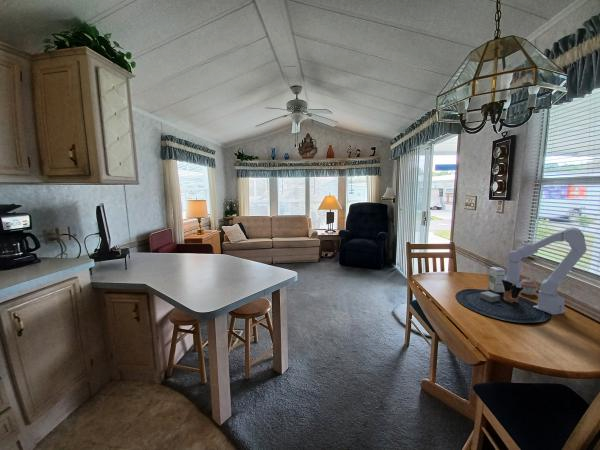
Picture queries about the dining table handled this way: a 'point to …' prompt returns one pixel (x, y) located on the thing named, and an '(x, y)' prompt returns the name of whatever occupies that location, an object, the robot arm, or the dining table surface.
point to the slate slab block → (490, 296)
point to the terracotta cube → (509, 297)
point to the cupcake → (528, 286)
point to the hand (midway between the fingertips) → (510, 295)
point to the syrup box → (496, 279)
